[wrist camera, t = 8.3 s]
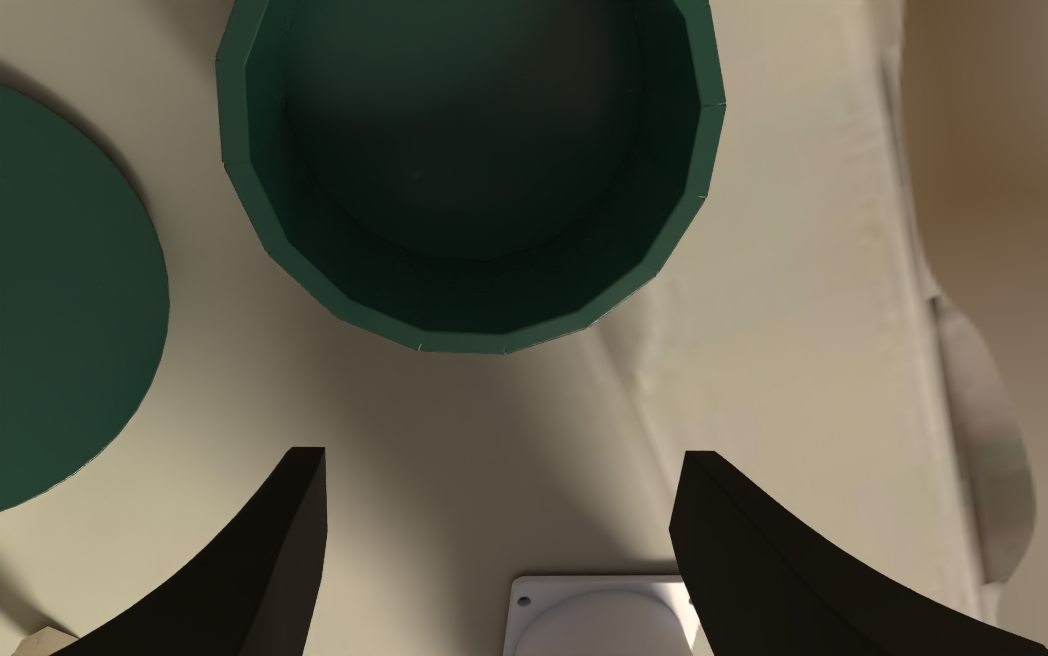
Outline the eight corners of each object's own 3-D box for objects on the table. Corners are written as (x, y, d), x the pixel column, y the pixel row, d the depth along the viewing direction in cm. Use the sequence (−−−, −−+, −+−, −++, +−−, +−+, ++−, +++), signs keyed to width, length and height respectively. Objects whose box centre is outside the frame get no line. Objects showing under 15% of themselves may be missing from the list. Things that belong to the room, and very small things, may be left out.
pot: (625, 280, 25) (673, 362, 20) (275, 261, 23) (234, 345, 18) (691, -105, 20) (775, -122, 15) (257, -162, 19) (196, -201, 14)
